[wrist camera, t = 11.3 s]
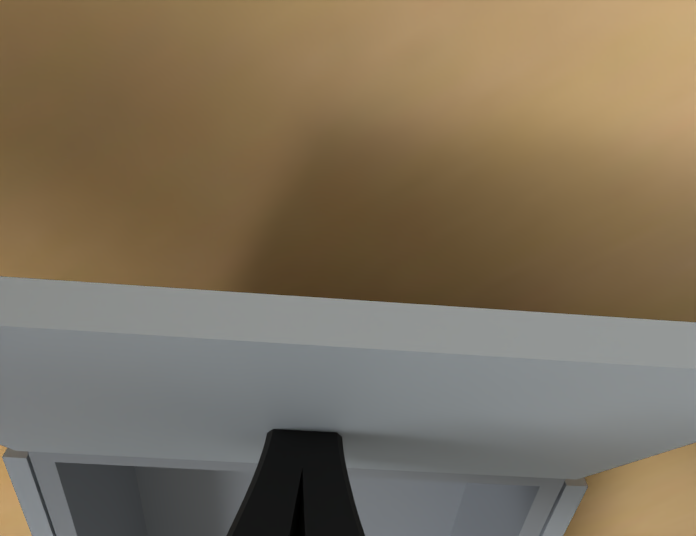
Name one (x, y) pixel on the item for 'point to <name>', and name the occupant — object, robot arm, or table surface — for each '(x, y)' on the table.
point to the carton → (233, 482)
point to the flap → (338, 379)
